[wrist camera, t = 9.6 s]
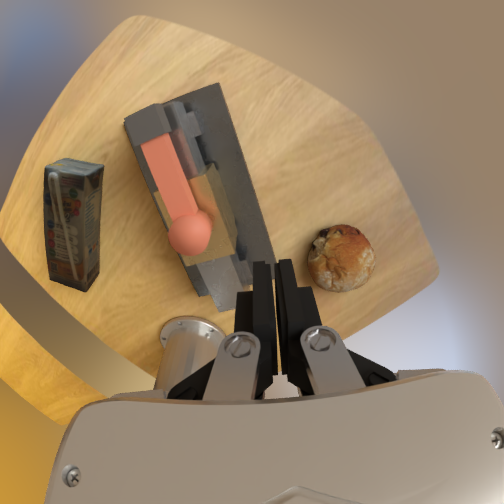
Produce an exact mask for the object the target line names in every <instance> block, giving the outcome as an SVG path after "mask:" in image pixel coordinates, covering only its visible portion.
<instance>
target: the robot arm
mask: <svg viewBox="0 0 504 504" xmlns="http://www.w3.org/2000/svg"><path fill="white" fill-rule="evenodd" d="M274 272H275V293H276V314H277V325H278V336H279V346H280V357H281V368H282V375H285V374H287V378H288V382H291V383H292V384H294V385H295V386H297V387H298V394H299V397H291V398H279V399H264V398H265V390H266V389H267V388H268V387H269V386H270V385H271V384H272V383H273V375H278V361H277V334H276V317H275V307H274V296H273V286H272V276H271V266H270V264H265V261H254V262H253V291H242V292H237V297H236V311H235V324H234V333H231V334H230V335H228V336H226V335H225V333H224V332H223V331H222V330H221V329H220V328H219V327H218V326H217V325H215V324H213V323H212V322H210V321H207V320H205V319H202V318H198V317H191V316H183V317H177V318H174V319H172V320H170V321H168V322H167V323H166V324H165V325H164V326H163V328H162V331H161V334H160V341H161V344H162V346H163V348H164V349H165V350H164V353H163V357H162V360H161V363H160V367H159V370H158V374H157V378H156V381H155V385H154V389H153V390H149V391H140V392H130V393H120V394H116V395H114V396H112V397H111V398H108V399H103V400H98V401H94V402H91V403H89V404H86V405H85V406H83V407H81V408H80V409H79V410H78V411H77V412H76V413H75V415H74V416H73V418H72V419H71V421H70V423H69V425H68V427H67V429H66V431H65V433H64V436H63V438H62V441H61V443H60V446H59V449H58V452H57V455H56V457H55V461H54V465H53V468H52V472H51V476H50V480H49V484H48V488H47V492H46V497H45V503H44V504H504V406H503V405H502V403H501V401H500V399H499V397H498V395H497V394H496V392H495V391H494V389H493V388H492V386H491V385H490V383H489V382H488V381H487V380H486V379H485V378H484V377H483V376H481V375H479V374H478V373H475V372H470V371H462V370H448V371H446V370H444V369H422V370H398V372H397V373H393V372H392V371H390V370H388V369H387V368H385V367H383V366H381V365H379V364H377V363H375V362H373V361H371V360H369V359H366V358H364V357H362V356H360V355H358V354H356V353H354V352H352V351H350V350H348V349H346V347H345V345H344V343H343V341H342V339H341V337H340V335H339V334H338V333H337V332H336V331H335V330H334V329H332V328H330V327H327V326H322V323H321V319H320V316H319V312H318V308H317V305H316V301H315V298H314V294H313V291H312V288H311V286H309V287H297V282H296V278H295V274H294V269H293V265H292V260H291V259H282V260H279V263H274Z"/></svg>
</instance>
